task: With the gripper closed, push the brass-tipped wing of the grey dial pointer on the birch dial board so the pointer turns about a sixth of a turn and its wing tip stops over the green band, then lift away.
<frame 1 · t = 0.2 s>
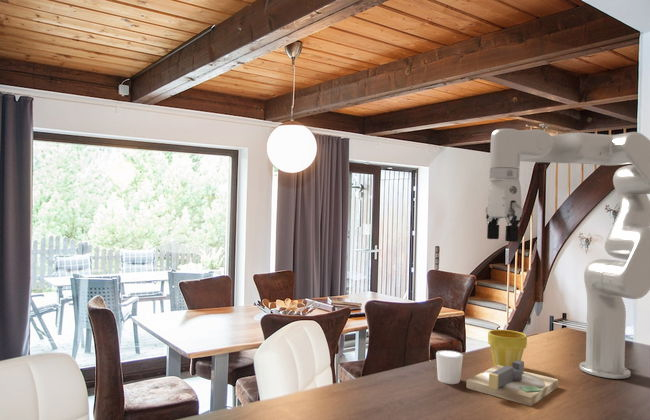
hand: (501, 240, 134), 37 cm above the table, tool pointing down, fingers open, 9 cm apart
tuner board: (512, 387, 127), on the table
grey dial pointer: (507, 374, 124), point 4 cm above the table, hinge at 0.0°
plant pot: (506, 368, 144), on the table
white cup: (448, 381, 132), on the table
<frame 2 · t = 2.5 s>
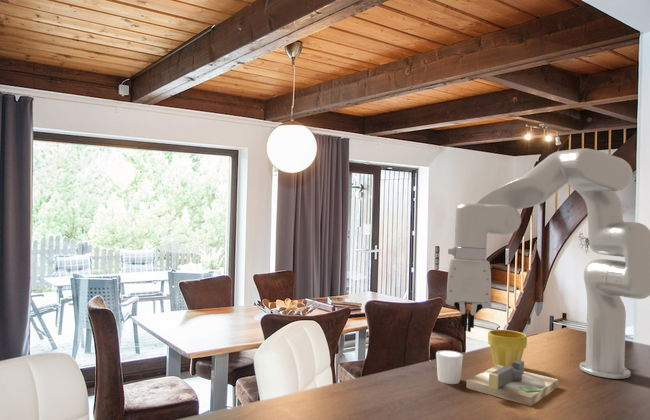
hand: (467, 330, 122), 15 cm above the table, tool pointing down, fingers closed
nothing on the table moved.
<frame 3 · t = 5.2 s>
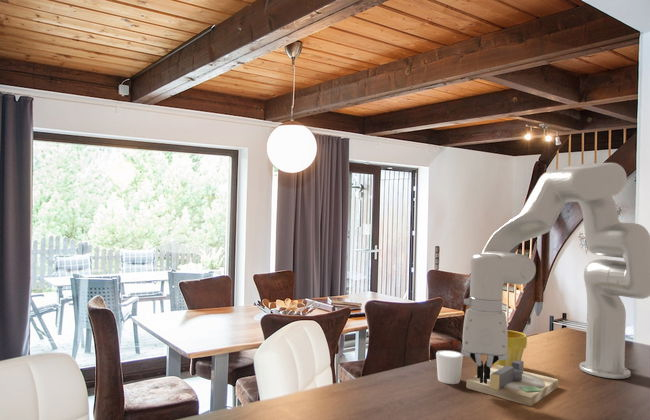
hand: (483, 381, 121), 3 cm above the table, tool pointing down, fingers closed
grey dial pointer: (507, 374, 124), point 4 cm above the table, hinge at 1.5°, touching gripper
everything else where it was.
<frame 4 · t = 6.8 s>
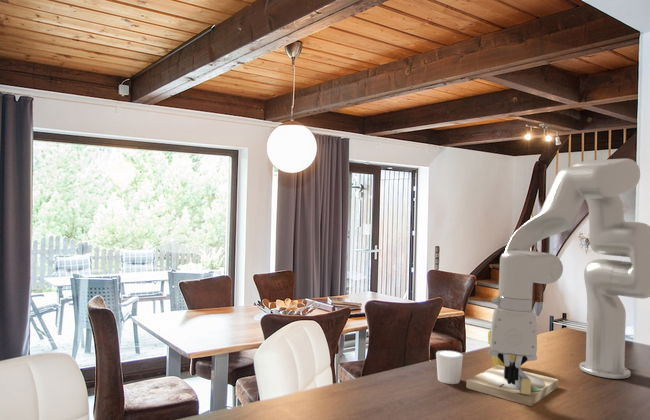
hand: (511, 382, 118), 4 cm above the table, tool pointing down, fingers closed
grey dial pointer: (516, 375, 124), point 4 cm above the table, hinge at 37.0°, touching gripper
everything else where it was.
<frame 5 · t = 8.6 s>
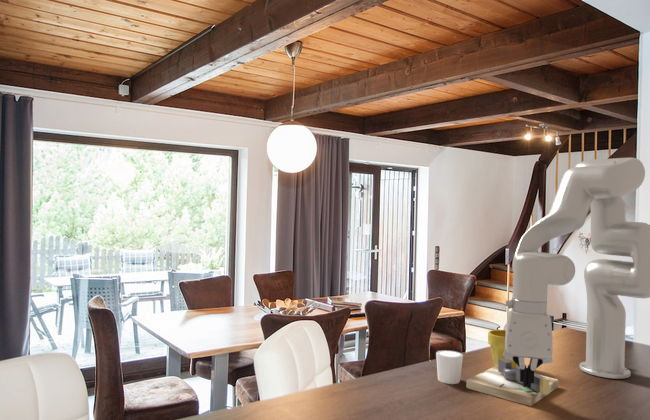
hand: (526, 385, 118), 4 cm above the table, tool pointing down, fingers closed
grey dial pointer: (522, 375, 124), point 4 cm above the table, hinge at 60.2°, touching gripper
everything else where it was.
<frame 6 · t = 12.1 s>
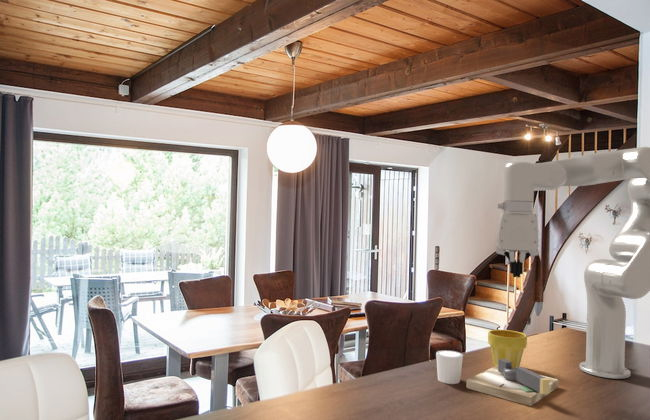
hand: (516, 276, 135), 27 cm above the table, tool pointing down, fingers closed
grey dial pointer: (522, 375, 124), point 4 cm above the table, hinge at 60.3°
everything else where it was.
at the end: grey dial pointer at +60° (first picture: +0°) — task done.
